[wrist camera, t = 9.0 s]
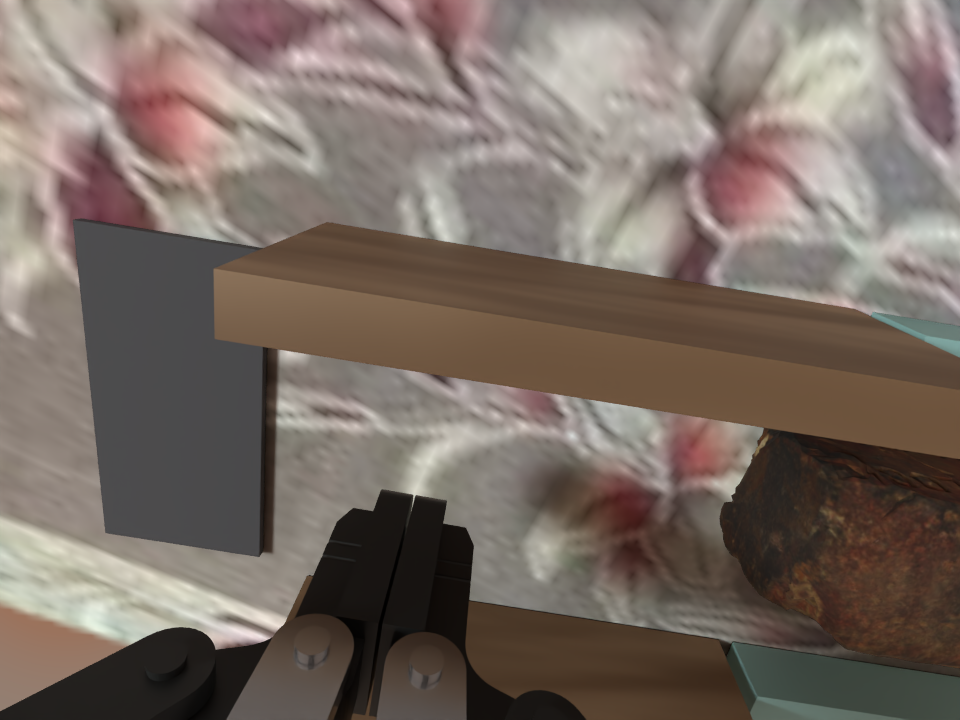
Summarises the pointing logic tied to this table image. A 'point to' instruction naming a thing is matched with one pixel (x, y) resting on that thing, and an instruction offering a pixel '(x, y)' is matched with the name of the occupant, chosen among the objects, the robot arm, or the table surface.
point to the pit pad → (171, 391)
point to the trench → (596, 376)
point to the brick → (854, 541)
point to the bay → (838, 682)
